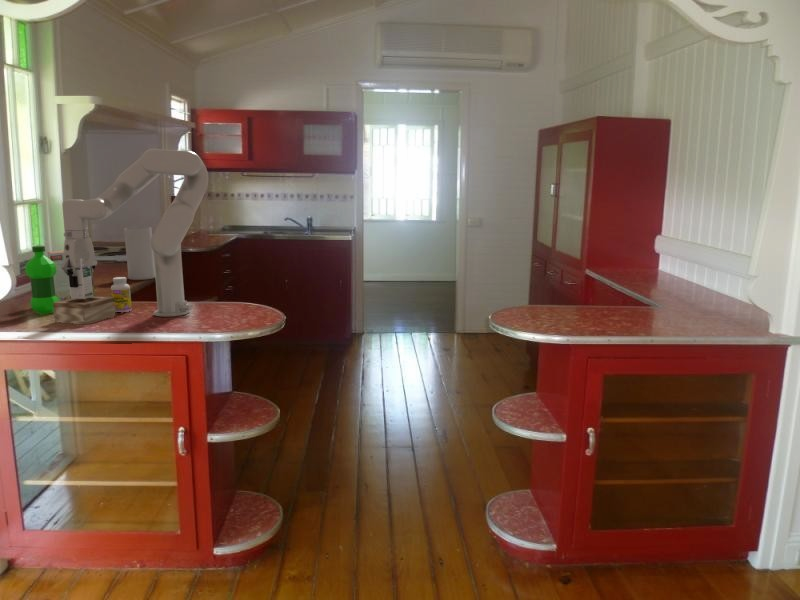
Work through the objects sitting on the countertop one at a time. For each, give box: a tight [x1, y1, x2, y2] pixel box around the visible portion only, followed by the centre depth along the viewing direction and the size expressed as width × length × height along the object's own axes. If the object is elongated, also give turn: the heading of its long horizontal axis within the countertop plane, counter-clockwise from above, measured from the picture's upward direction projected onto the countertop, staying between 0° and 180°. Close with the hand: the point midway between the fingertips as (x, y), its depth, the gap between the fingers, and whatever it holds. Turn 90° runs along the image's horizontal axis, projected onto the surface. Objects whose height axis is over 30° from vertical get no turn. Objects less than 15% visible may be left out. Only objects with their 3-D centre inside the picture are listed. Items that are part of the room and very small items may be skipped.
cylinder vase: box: [123, 226, 155, 281], centre depth 339 cm, size 12×12×25 cm
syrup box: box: [68, 258, 96, 299], centre depth 243 cm, size 6×6×14 cm
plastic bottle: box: [24, 245, 59, 315], centre depth 256 cm, size 10×10×25 cm
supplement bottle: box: [110, 276, 132, 313], centre depth 257 cm, size 7×7×13 cm
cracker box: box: [47, 250, 71, 301], centre depth 279 cm, size 14×6×21 cm, turn 126°
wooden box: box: [53, 295, 116, 325], centre depth 245 cm, size 14×14×7 cm
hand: (81, 285), depth 244 cm, fingers closed on syrup box, 6 cm apart
